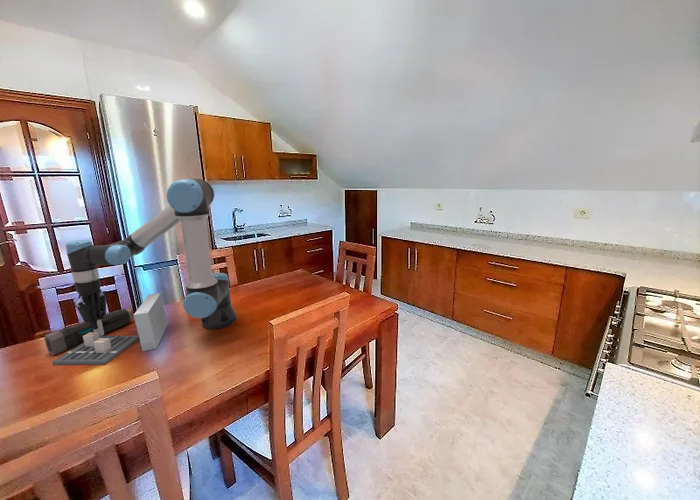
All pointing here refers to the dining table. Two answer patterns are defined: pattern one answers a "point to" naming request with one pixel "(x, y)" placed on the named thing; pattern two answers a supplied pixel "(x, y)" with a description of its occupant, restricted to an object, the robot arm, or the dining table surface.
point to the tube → (84, 331)
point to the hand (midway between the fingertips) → (99, 334)
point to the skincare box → (151, 321)
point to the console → (90, 357)
